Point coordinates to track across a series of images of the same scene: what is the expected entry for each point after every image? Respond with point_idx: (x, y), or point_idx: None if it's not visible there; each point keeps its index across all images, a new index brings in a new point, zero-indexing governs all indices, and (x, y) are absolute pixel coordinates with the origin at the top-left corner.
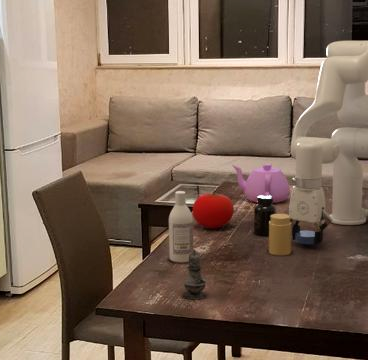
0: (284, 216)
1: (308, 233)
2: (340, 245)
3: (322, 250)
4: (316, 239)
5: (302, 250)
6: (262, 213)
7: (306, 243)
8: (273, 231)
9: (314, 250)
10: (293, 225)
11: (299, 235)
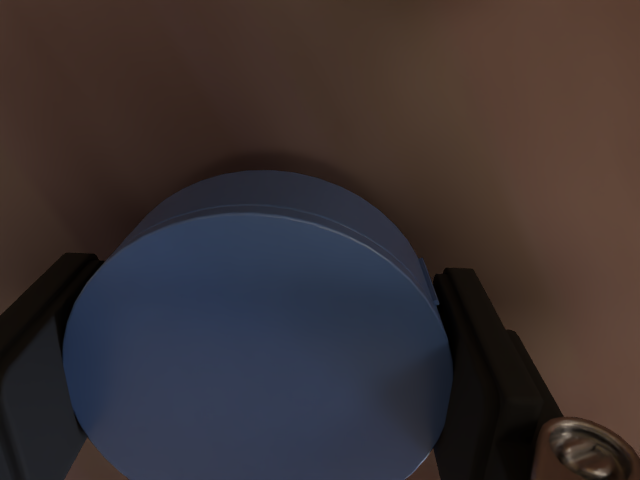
0: None
1: (247, 413)
2: None
3: (31, 233)
4: (31, 286)
5: (219, 85)
6: None
7: (184, 188)
8: None
9: (100, 179)
10: (546, 447)
11: (308, 239)
